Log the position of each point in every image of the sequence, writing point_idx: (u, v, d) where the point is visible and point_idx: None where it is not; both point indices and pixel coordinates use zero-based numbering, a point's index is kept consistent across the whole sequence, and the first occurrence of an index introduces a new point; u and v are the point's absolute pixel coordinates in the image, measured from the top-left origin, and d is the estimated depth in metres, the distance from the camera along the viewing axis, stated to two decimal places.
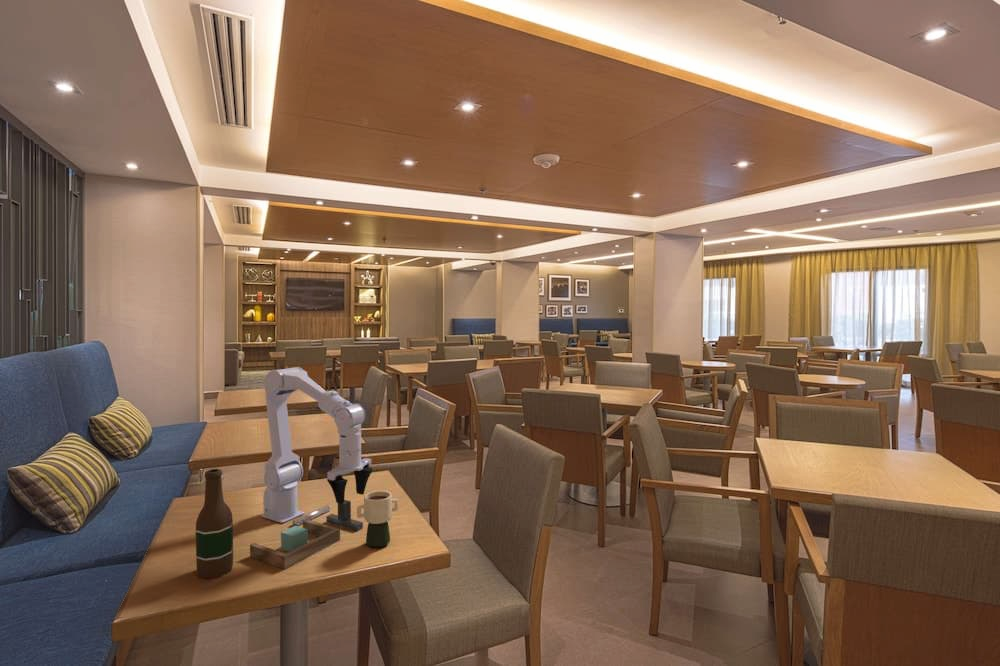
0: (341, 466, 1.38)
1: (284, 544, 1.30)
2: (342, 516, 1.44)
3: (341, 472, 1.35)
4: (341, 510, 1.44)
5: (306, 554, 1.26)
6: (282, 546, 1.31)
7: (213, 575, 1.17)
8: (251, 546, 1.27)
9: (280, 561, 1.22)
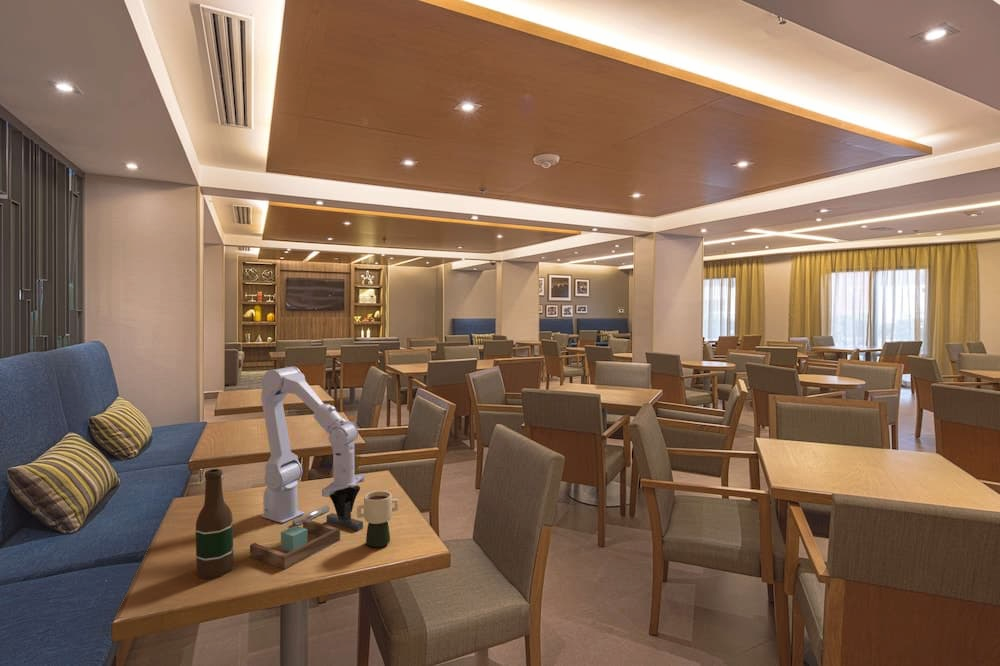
0: (335, 483, 1.42)
1: (284, 544, 1.30)
2: (342, 516, 1.44)
3: (335, 489, 1.40)
4: None
5: (306, 554, 1.26)
6: (282, 546, 1.31)
7: (213, 575, 1.17)
8: (251, 546, 1.27)
9: (280, 561, 1.22)
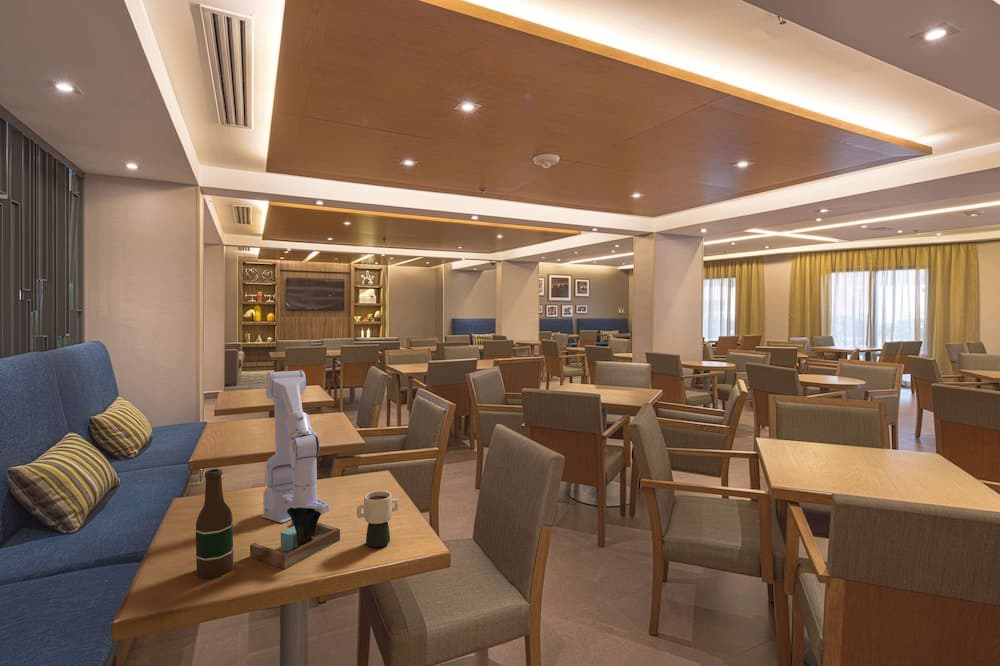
0: None
1: (284, 544, 1.30)
2: None
3: (287, 500, 1.30)
4: None
5: (306, 554, 1.26)
6: (282, 546, 1.31)
7: (213, 575, 1.17)
8: (251, 546, 1.27)
9: (280, 561, 1.22)
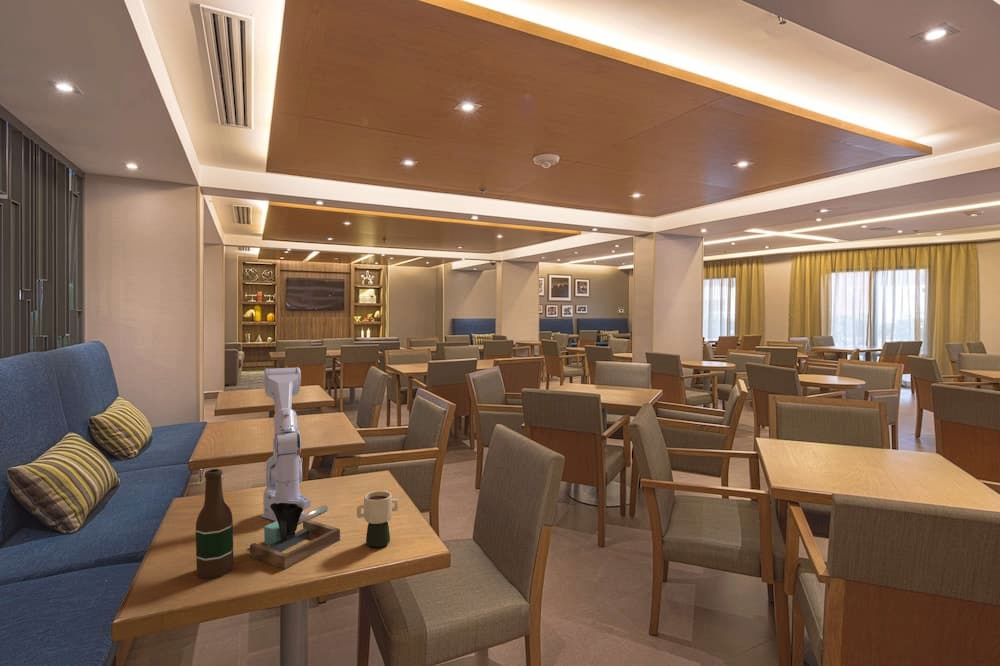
0: None
1: (267, 538, 1.33)
2: None
3: (270, 495, 1.33)
4: None
5: (306, 554, 1.26)
6: (265, 540, 1.34)
7: (213, 575, 1.17)
8: (251, 546, 1.27)
9: (280, 561, 1.22)
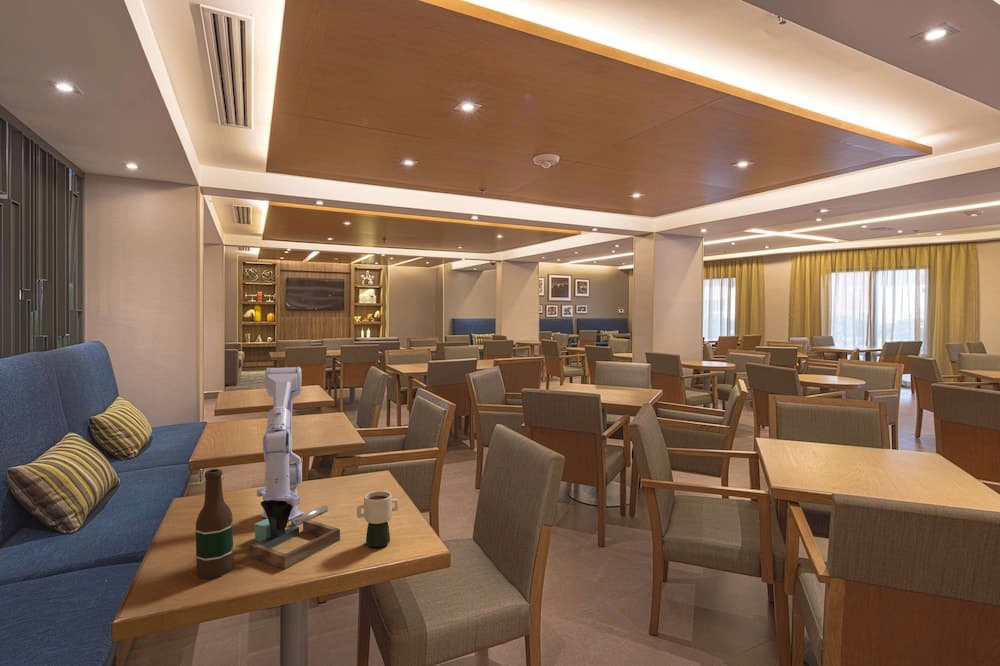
0: None
1: (258, 535, 1.35)
2: None
3: (261, 493, 1.35)
4: None
5: (306, 554, 1.26)
6: (256, 537, 1.36)
7: (213, 575, 1.17)
8: (251, 546, 1.27)
9: (280, 561, 1.22)
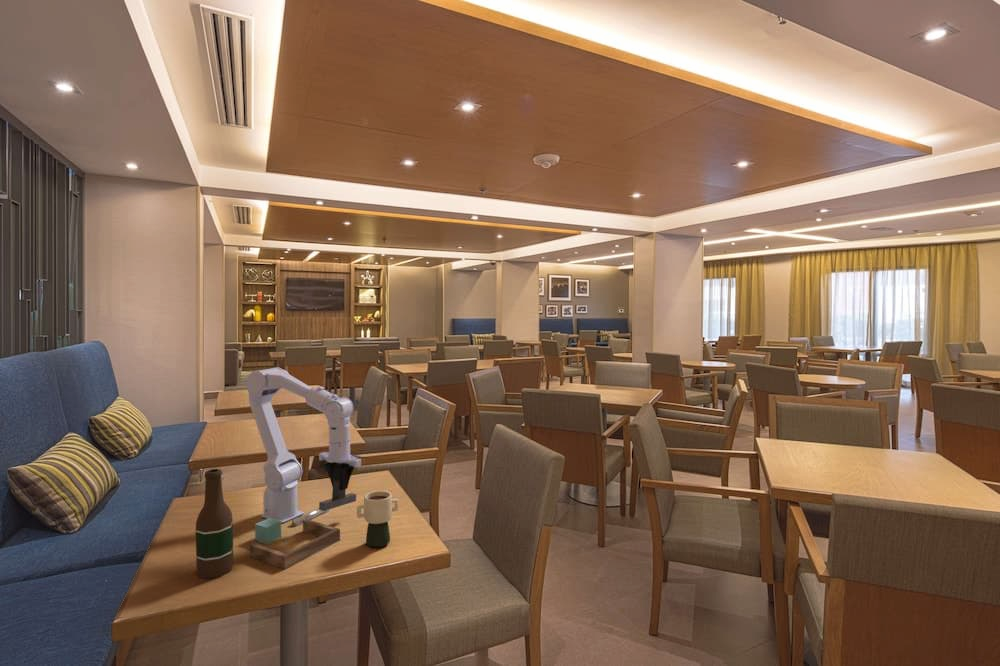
0: None
1: (258, 535, 1.35)
2: None
3: (323, 456, 1.46)
4: None
5: (306, 554, 1.26)
6: (256, 537, 1.36)
7: (213, 575, 1.17)
8: (251, 546, 1.27)
9: (280, 561, 1.22)
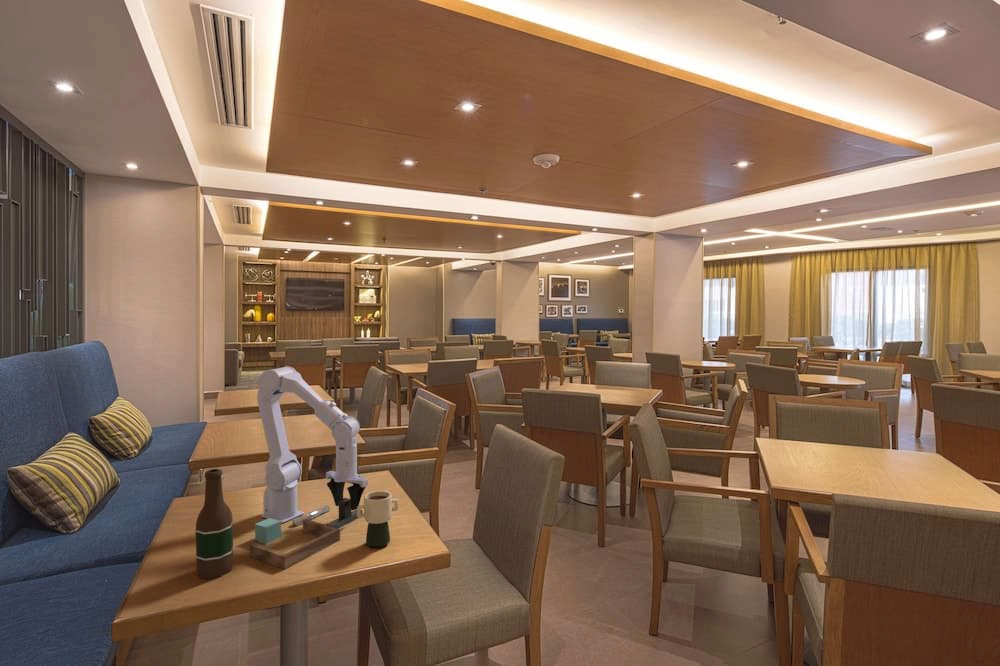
0: None
1: (258, 535, 1.35)
2: None
3: (330, 475, 1.48)
4: None
5: (306, 554, 1.26)
6: (256, 537, 1.36)
7: (213, 575, 1.17)
8: (251, 546, 1.27)
9: (280, 561, 1.22)
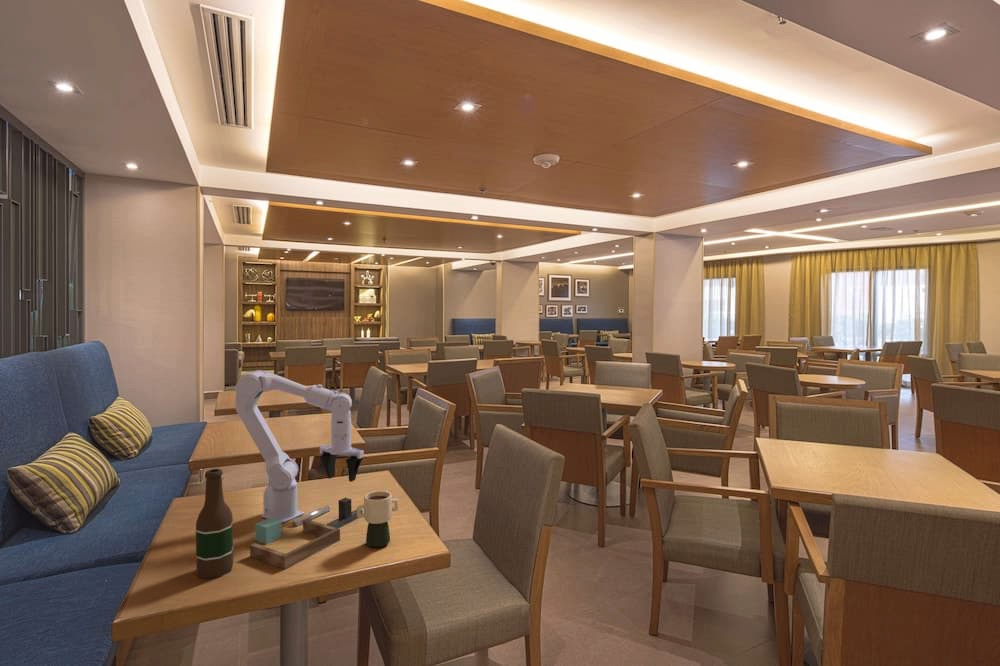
0: None
1: (258, 535, 1.35)
2: None
3: (325, 449, 1.53)
4: None
5: (306, 554, 1.26)
6: (256, 537, 1.36)
7: (213, 575, 1.17)
8: (251, 546, 1.27)
9: (280, 561, 1.22)
